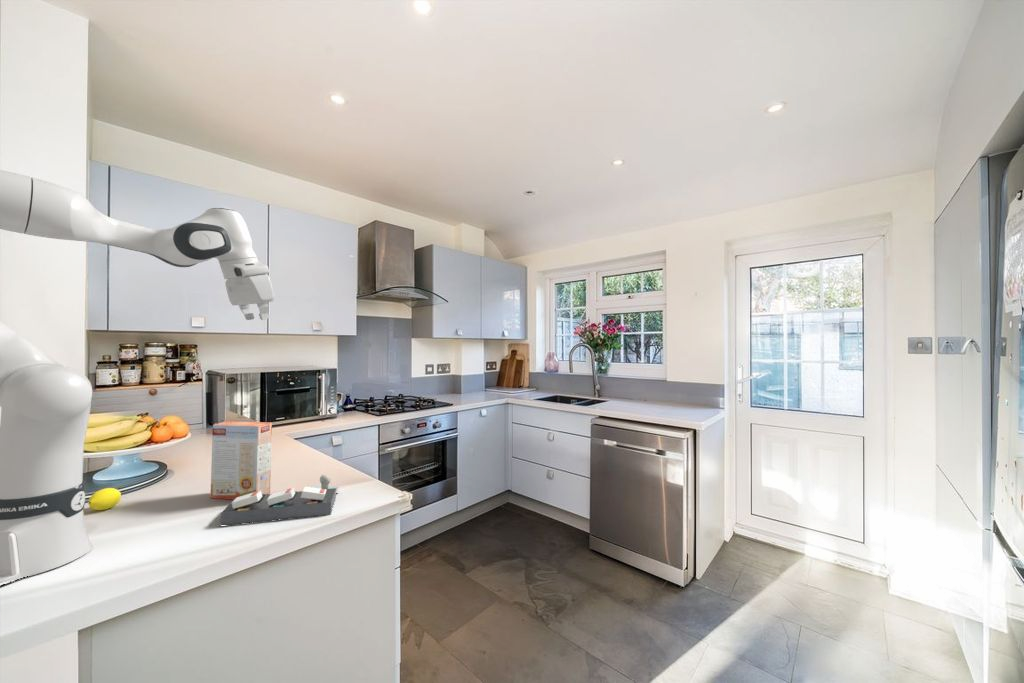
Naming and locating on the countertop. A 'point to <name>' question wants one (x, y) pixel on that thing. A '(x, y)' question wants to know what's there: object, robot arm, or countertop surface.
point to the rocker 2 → (281, 496)
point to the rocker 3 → (313, 493)
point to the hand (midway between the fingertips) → (257, 319)
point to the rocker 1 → (247, 499)
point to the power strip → (278, 509)
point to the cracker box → (240, 459)
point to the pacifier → (325, 483)
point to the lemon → (104, 499)
